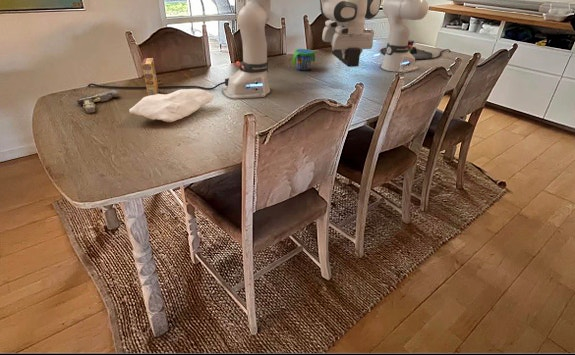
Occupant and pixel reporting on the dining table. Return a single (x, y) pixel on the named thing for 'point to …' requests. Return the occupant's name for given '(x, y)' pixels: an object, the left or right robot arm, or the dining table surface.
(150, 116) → the crumpled cloth
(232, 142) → the dining table surface
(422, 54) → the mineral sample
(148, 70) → the candy box
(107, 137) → the dining table surface
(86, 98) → the handgun
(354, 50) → the bar
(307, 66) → the snack cup
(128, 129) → the dining table surface
